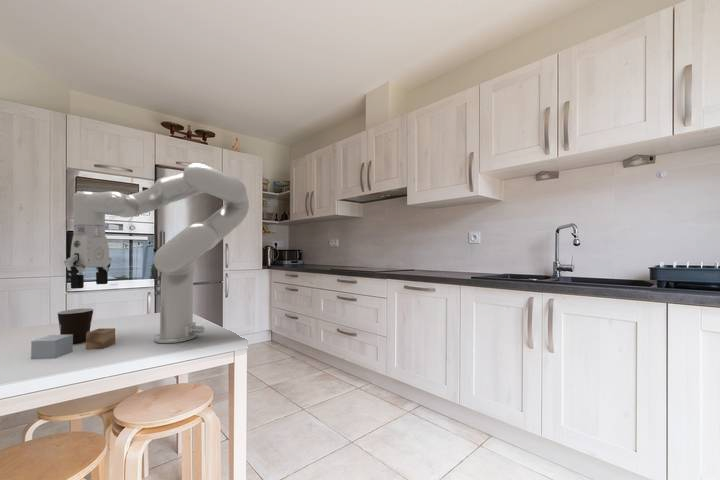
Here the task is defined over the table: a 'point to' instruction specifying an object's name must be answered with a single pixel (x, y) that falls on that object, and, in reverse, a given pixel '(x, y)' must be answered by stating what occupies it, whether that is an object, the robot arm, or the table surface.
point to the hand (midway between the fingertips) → (90, 286)
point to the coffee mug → (75, 323)
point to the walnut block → (100, 338)
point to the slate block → (51, 346)
